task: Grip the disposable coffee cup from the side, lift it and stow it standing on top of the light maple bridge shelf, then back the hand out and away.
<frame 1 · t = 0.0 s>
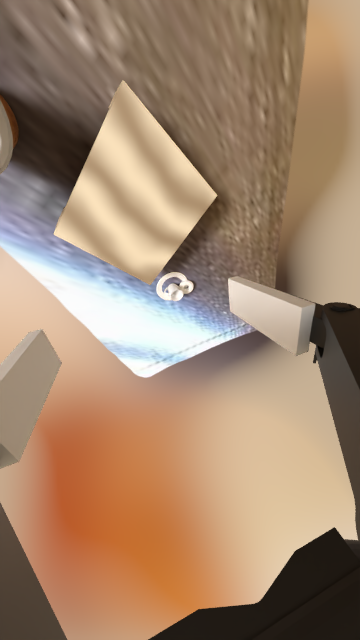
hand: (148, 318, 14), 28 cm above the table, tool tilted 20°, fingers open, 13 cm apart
maple bridge shelf: (132, 201, 33), on the table
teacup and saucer: (176, 293, 50), on the table
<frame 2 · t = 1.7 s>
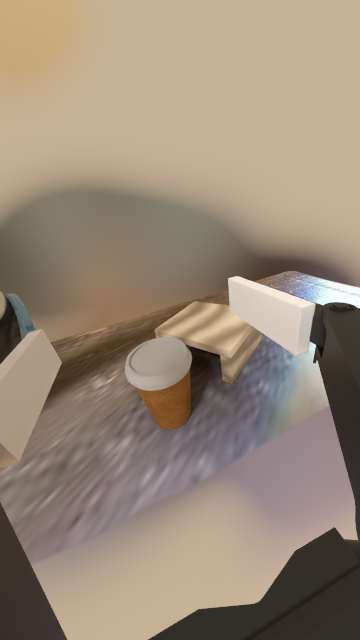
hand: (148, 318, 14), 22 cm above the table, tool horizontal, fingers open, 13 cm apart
maple bridge shelf: (211, 347, 45), on the table
disposable coffee cup: (173, 412, 32), on the table
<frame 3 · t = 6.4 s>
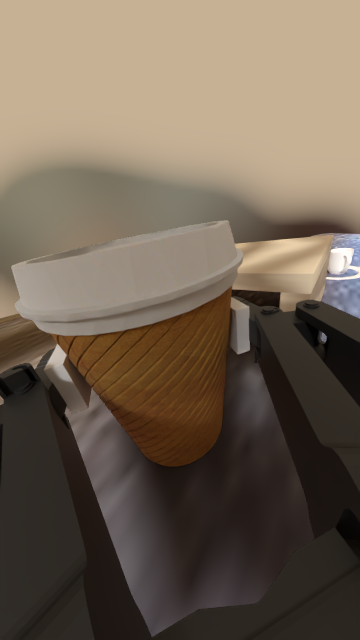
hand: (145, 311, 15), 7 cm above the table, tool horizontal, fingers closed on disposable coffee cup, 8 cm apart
maple bridge shelf: (239, 308, 27), on the table
disposable coffee cup: (178, 419, 14), on the table, touching gripper
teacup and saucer: (346, 271, 34), on the table
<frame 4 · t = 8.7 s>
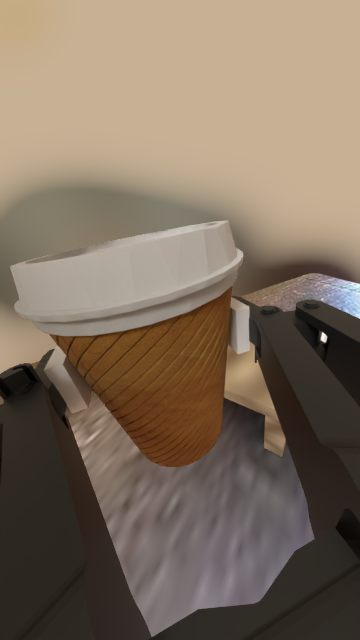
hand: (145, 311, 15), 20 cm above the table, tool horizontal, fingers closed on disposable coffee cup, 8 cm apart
maple bridge shelf: (235, 382, 33), on the table
disposable coffee cup: (178, 419, 14), point 13 cm above the table, touching gripper
when the fingers open (16 cm above the table, at t = 11.3 s): disposable coffee cup drops 2 cm, resting on maple bridge shelf.
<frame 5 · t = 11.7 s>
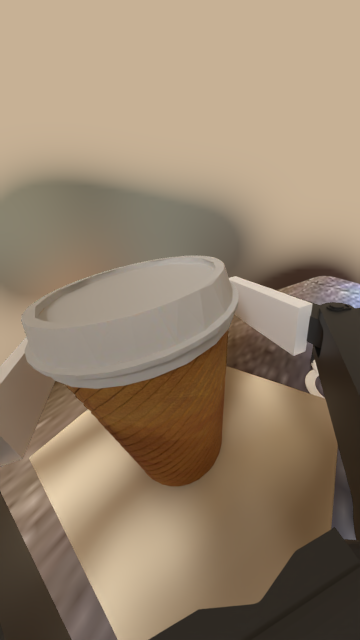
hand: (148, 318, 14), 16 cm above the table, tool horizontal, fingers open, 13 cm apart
maple bridge shelf: (195, 480, 18), on the table
disposable coffee cup: (179, 436, 14), point 7 cm above the table, touching maple bridge shelf
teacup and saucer: (357, 382, 25), on the table
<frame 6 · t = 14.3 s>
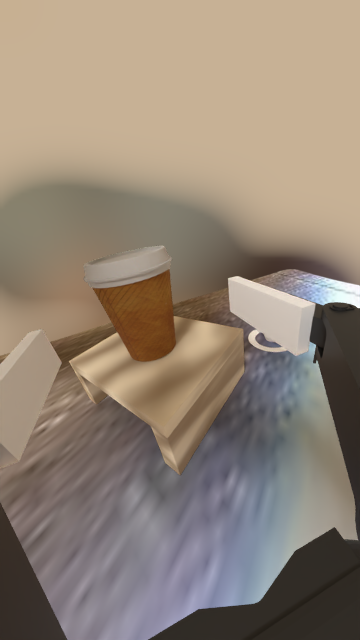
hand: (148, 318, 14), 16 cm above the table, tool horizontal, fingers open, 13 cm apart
maple bridge shelf: (166, 385, 29), on the table
disposable coffee cup: (153, 347, 26), point 7 cm above the table, touching maple bridge shelf
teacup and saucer: (283, 335, 36), on the table
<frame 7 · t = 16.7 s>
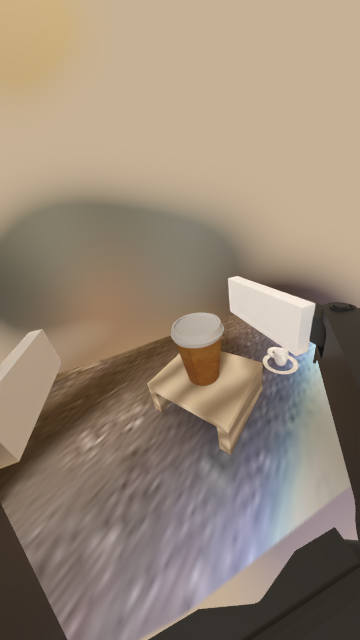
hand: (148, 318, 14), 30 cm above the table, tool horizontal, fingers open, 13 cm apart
maple bridge shelf: (208, 398, 43), on the table
disposable coffee cup: (203, 375, 39), point 7 cm above the table, touching maple bridge shelf
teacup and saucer: (288, 360, 50), on the table
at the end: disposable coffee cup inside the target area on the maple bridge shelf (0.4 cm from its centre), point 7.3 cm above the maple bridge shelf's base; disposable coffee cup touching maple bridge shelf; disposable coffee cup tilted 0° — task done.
